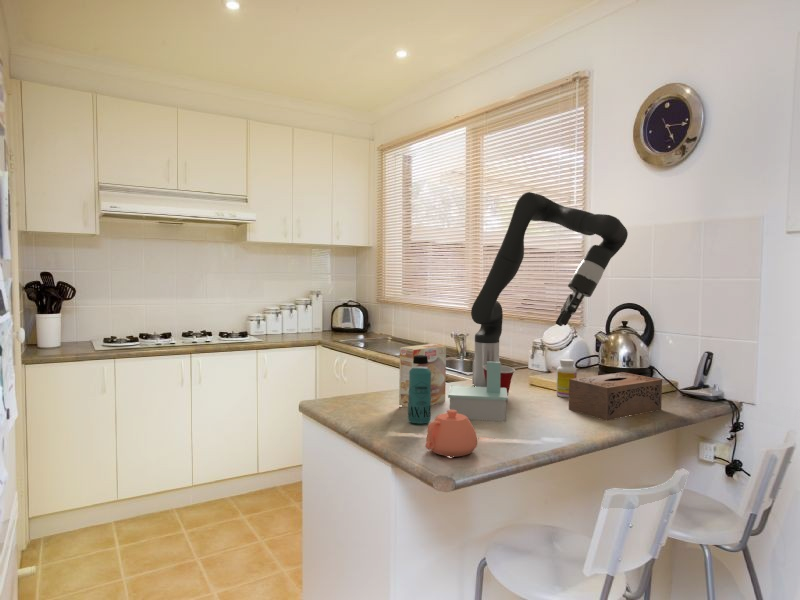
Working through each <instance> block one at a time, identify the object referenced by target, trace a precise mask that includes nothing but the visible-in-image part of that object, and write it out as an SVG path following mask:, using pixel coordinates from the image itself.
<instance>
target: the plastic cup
mask: <svg viewBox="0 0 800 600" xmlns="http://www.w3.org/2000/svg"><path fill="white" fill-rule="evenodd" d="M482 367H483V369H484V374H485V380H486V387H487V365H483V366H482ZM515 372H516V369H515V368H513V367H511V366H507V365H502V364H501V377H500V388H506V389H507V396H509V391H510V387H511V382H512V379H513V375H514V373H515ZM507 401H508V400H506V402H507Z"/></svg>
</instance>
